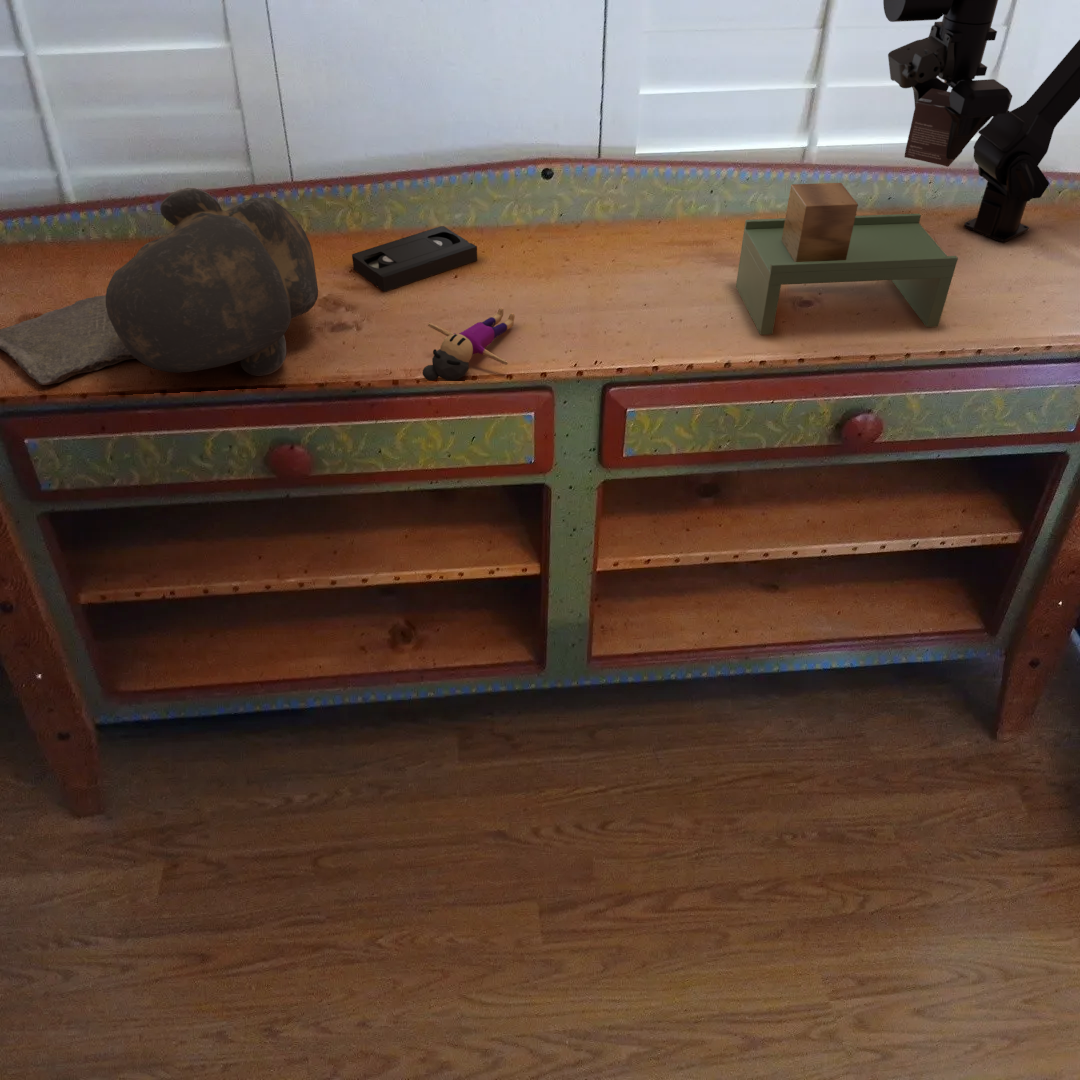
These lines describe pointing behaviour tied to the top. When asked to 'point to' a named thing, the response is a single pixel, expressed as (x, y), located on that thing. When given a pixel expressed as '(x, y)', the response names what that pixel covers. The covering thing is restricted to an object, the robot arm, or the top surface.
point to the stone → (65, 342)
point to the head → (214, 286)
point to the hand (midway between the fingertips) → (935, 146)
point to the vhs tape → (414, 258)
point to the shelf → (847, 265)
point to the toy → (465, 347)
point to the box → (930, 129)
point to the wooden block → (819, 222)
